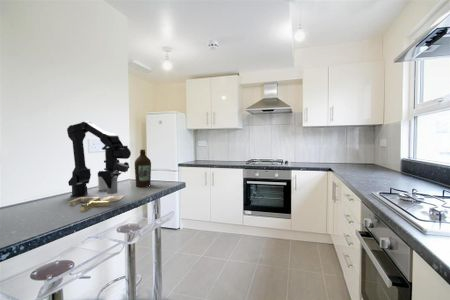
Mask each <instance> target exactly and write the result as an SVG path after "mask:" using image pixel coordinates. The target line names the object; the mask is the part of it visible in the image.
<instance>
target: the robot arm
mask: <svg viewBox="0 0 450 300" xmlns="http://www.w3.org/2000/svg"><path fill="white" fill-rule="evenodd" d="M66 131H67V135H68V138H69V140H70V141H71V142H72V150H73V151H72V153H73V160H74V168H73V170H72V172H71V174H72V175H71V178H70V179H69V180H68V186H69V187H71V195H70V197H71V198H72V197H85V196H86V195H88V194H89V192H88V186H87V184H90V179H91V176H92V174H91V168H88V167H87V166H86V157H85V149H84V148H85V147H84V139H85V138H86V133H90V134H92V135H93V136H95V137H97V138H99V140H100V143H102V144H103V145H104V146H103V147H102V148H101V150H103V151H104V152H105V154H104V155H105V156H104V157H105V159H104V160H103V163H105V168H103V169H101V170H99V171H98V172H97V178H98V177H102V178H103V180H104V181H105V183H106V185H107V186H108V188H109V189H111V186H112V179H113V177H114V176H117V179H118V178H119V176H121V174H122V173H127V172H128V170H129V169H130V164H129V162H126V161H125V162H124V163H123V162H120V160H121V159H122V160H123V159H124V160H127V159H129V158H130V157H131V154H132V151H131V150H130V148H128V147H129V146H128V145H123V143H122V141H121V140H120V137H119V135H117V134H115V133H112V132H108V131H106V130H103V129H102V128H101V127H99V126H97V125H95V124H94V123H93V122H91V121H81V122H79V123H75V124H70V125H69V126H68V127H67V128H66Z"/></svg>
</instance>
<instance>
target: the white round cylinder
mask: <svg viewBox="0 0 450 300" xmlns="http://www.w3.org/2000/svg"><path fill="white" fill-rule="evenodd" d="M106 194H107V195H114V194H118V178H117V176H114V177H113V179H112V186H111V189H109V188H108V186H107V190H106Z"/></svg>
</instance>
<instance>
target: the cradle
mask: <svg viewBox="0 0 450 300" xmlns="http://www.w3.org/2000/svg"><path fill="white" fill-rule="evenodd" d="M100 200H101V197H100V196H78V197H77V198H74V199H72V200H70V201H69V206H76V205H78V204H80V203H89V202H92V201H100Z"/></svg>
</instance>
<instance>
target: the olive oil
mask: <svg viewBox="0 0 450 300" xmlns="http://www.w3.org/2000/svg"><path fill="white" fill-rule="evenodd" d="M134 173H135V187H136V188H147V187H146V186H148V187H150V186H151V178H152V174H151V173H152V162H151V160H150V158H149V157H148V156H147V154H146V149H140V150H139V156H138V157H137V158H136V159H135V160H134ZM149 185H150V186H149Z"/></svg>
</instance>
